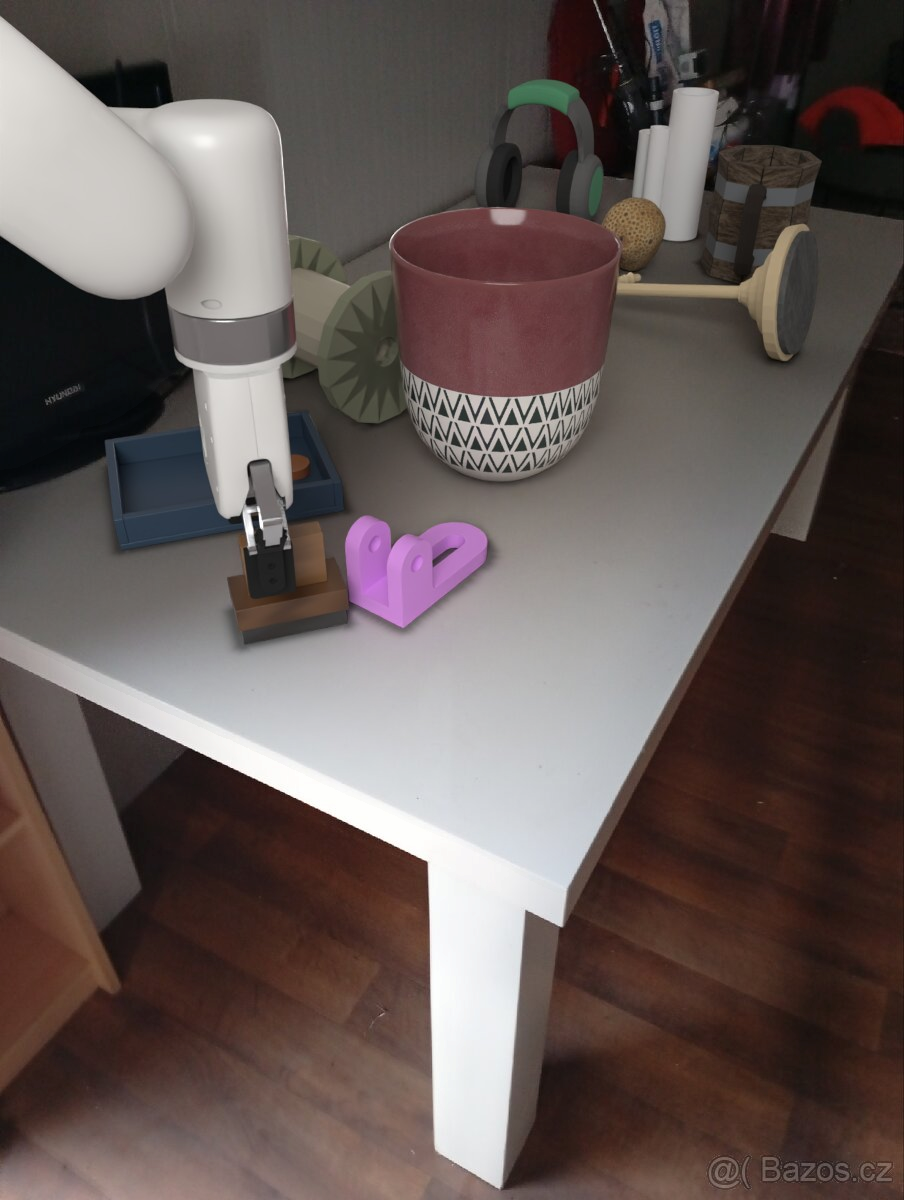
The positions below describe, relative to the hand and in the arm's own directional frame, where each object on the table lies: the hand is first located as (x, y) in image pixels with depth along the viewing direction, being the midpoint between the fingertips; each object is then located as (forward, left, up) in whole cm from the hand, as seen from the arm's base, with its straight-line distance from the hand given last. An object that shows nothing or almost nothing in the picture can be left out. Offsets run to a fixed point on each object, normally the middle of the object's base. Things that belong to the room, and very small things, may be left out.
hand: (260, 554), depth 69 cm
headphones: (+59, +89, -7) cm, 107 cm away
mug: (+77, +56, -7) cm, 96 cm away
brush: (+2, +1, -7) cm, 7 cm away
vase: (+75, +77, -7) cm, 108 cm away
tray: (-1, +22, -7) cm, 23 cm away
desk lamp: (+49, +40, -7) cm, 63 cm away
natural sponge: (+62, +63, -7) cm, 89 cm away
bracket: (+13, +3, -7) cm, 15 cm away
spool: (+14, +38, -7) cm, 41 cm away
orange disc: (+6, +22, -6) cm, 23 cm away
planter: (+25, +18, -7) cm, 32 cm away
